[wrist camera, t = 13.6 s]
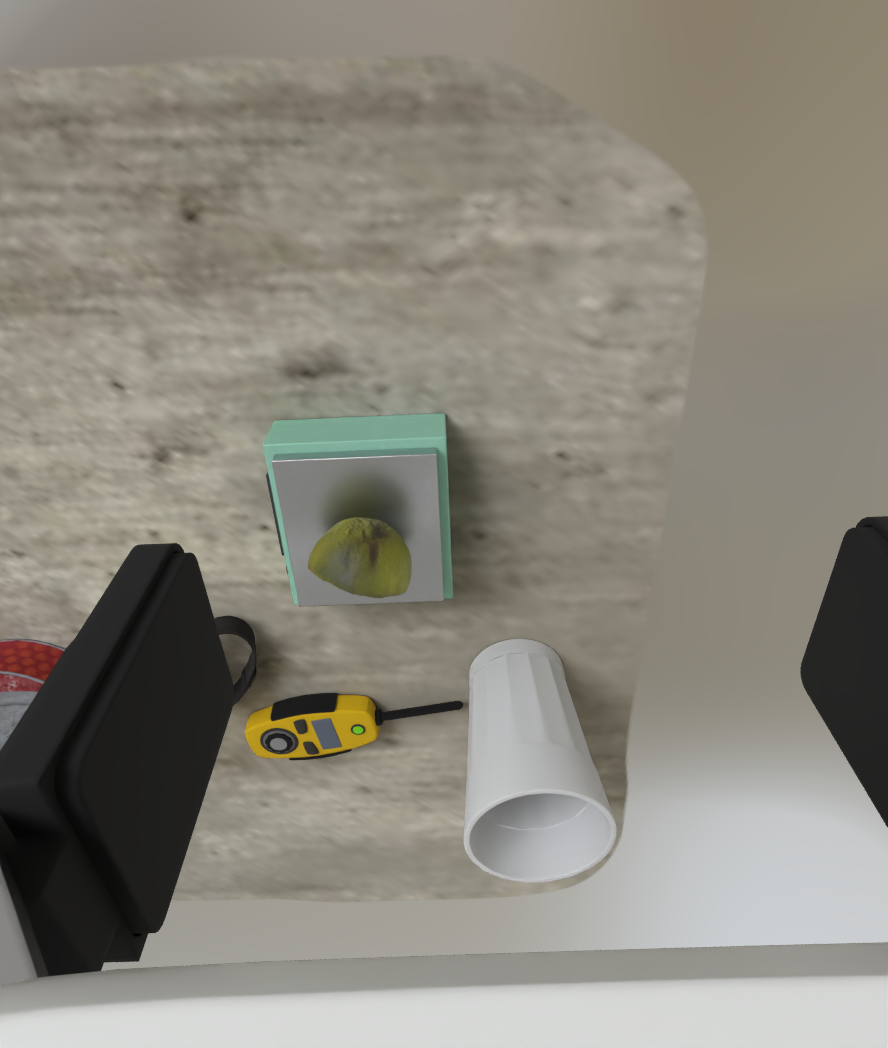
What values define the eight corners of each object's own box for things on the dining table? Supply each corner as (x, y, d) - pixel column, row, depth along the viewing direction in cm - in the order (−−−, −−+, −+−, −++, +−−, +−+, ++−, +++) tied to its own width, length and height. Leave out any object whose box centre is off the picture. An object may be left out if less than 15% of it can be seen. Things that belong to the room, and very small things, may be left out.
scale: (268, 420, 36) (255, 445, 34) (445, 412, 36) (446, 436, 34) (297, 574, 42) (288, 605, 39) (451, 567, 42) (453, 598, 39)
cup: (582, 705, 48) (622, 871, 38) (469, 724, 49) (479, 891, 39) (568, 619, 44) (609, 778, 34) (445, 641, 45) (449, 803, 34)
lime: (422, 556, 36) (421, 617, 32) (338, 580, 37) (326, 643, 33) (392, 486, 34) (386, 542, 30) (302, 513, 35) (285, 572, 31)
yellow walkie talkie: (234, 725, 46) (457, 692, 44) (241, 703, 47) (456, 670, 46) (258, 771, 48) (470, 741, 47) (264, 749, 50) (469, 719, 49)
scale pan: (274, 453, 34) (270, 461, 33) (436, 446, 34) (436, 453, 33) (301, 598, 39) (299, 607, 38) (444, 592, 39) (444, 601, 38)
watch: (201, 598, 42) (183, 637, 39) (275, 620, 44) (263, 661, 40) (174, 682, 46) (156, 724, 43) (244, 701, 47) (231, 744, 44)
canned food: (40, 591, 48) (-1, 636, 38) (150, 684, 51) (138, 746, 42) (-96, 709, 46) (-172, 785, 37) (27, 797, 50) (-14, 887, 40)
